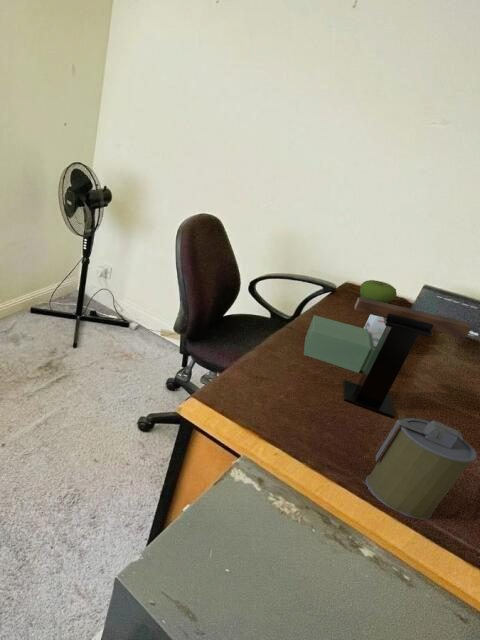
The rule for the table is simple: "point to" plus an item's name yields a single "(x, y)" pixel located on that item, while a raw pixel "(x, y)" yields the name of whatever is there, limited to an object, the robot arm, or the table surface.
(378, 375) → the stand
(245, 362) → the table surface
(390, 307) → the rod
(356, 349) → the cabinet
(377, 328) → the ink box
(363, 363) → the drawer
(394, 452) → the canister
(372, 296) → the apple
